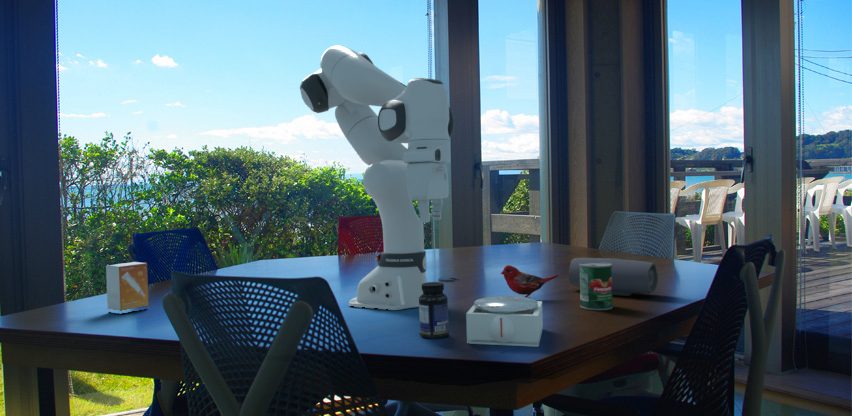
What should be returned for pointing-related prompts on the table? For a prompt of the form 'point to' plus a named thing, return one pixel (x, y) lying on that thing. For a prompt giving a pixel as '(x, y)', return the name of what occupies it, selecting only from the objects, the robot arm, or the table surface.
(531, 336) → the scale housing
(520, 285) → the decorative bird figurine
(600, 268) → the canned tomato
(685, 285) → the table surface
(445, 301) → the pill bottle
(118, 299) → the small box
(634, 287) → the bluetooth speaker
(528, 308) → the scale pan
